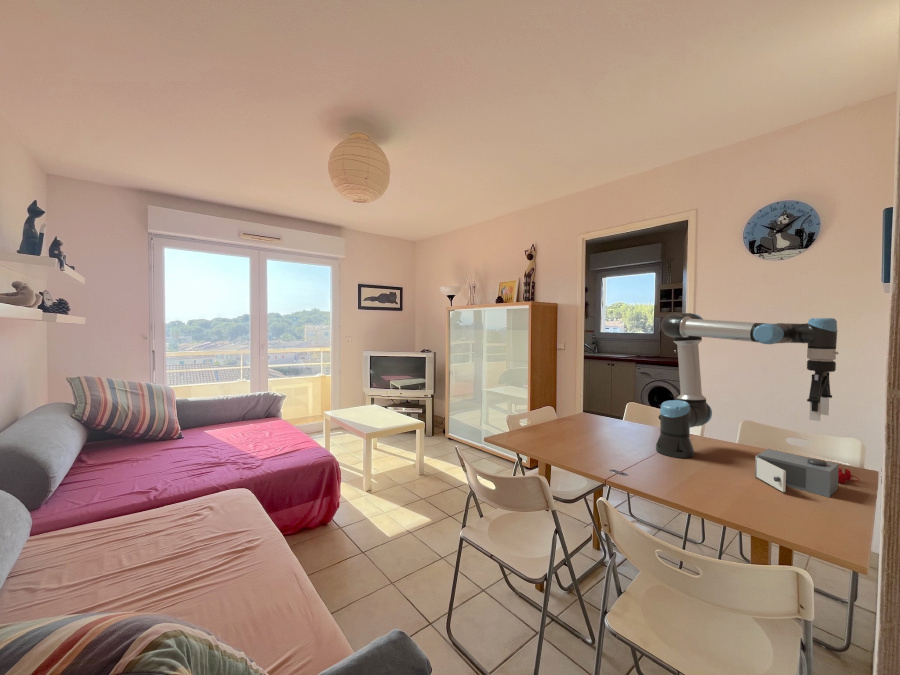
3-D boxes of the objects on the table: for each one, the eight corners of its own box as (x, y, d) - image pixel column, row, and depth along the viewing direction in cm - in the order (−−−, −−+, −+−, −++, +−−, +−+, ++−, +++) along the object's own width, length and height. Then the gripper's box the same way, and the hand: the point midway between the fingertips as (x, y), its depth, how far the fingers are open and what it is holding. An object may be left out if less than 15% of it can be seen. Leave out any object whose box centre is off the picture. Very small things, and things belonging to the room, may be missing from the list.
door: (751, 476, 144) (751, 455, 144) (757, 476, 144) (757, 455, 144) (779, 492, 131) (779, 469, 130) (785, 493, 130) (786, 469, 130)
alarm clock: (808, 459, 153) (860, 463, 140) (812, 475, 152) (865, 480, 139) (797, 464, 148) (849, 468, 135) (801, 480, 147) (854, 486, 134)
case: (756, 477, 144) (757, 452, 144) (767, 470, 151) (768, 446, 151) (829, 497, 128) (830, 468, 127) (838, 488, 134) (838, 461, 134)
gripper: (828, 363, 127) (826, 425, 128) (842, 358, 141) (840, 414, 142) (798, 361, 133) (796, 420, 134) (815, 357, 147) (813, 410, 148)
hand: (819, 417), depth 138 cm, fingers open, 13 cm apart
